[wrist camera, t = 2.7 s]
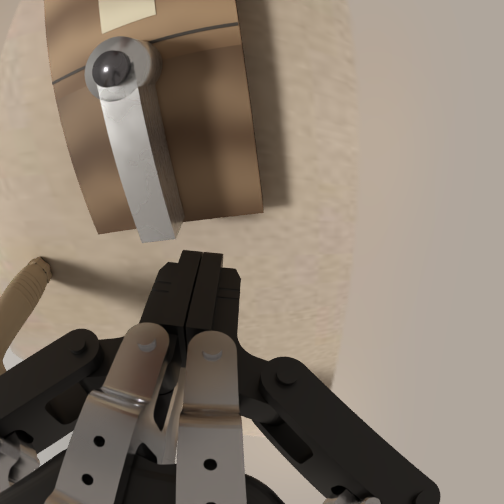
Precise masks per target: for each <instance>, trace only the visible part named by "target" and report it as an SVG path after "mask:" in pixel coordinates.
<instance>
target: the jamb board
mask: <svg viewBox="0 0 504 504" xmlns="http://www.w3.org/2000/svg"><path fill="white" fill-rule="evenodd" d="M44 7H45V26H46V38H47V47H48V56H49V63H50V70H51V76H52V84H53V87H54V92H55V97H56V102H57V107H58V111H59V116H60V120H61V124H62V128H63V132H64V136H65V139H66V143H67V147H68V150H69V153H70V157H71V160H72V163H73V167H74V170H75V173H76V176H77V179H78V182H79V185H80V188H81V191H82V193H83V196H84V199H85V202H86V204H87V207H88V210H89V212H90V215H91V217H92V220H93V222H94V225H95V227H96V230H97V232H98V234H104V233H110V232H117V231H123V230H130V229H137V228H136V225H135V222H134V219H133V216H132V213H131V210H130V207H129V204H128V201H127V198H126V195H125V192H124V189H123V186H122V182H121V179H120V176H119V172H118V169H117V165H116V162H115V158H114V155H113V151H112V147H111V144H110V140H109V136H108V132H107V128H106V124H105V120H104V115H103V111H102V106H101V102H100V99H98V98H96V97H95V96H94V95H93V94H92V93H91V92H90V91H89V89H88V87H87V85H86V81H85V67H86V63H87V60H88V58H89V56H90V55H91V53H92V52H93V50H94V49H95V48H96V47H97V46H98V45H99V44H101V43H102V42H103V41H105V40H107V39H109V38H112V37H117V36H124V37H129V38H134V39H138V40H142V41H146V42H149V43H151V44H153V45H154V46H155V47H156V48H157V49H158V50H159V52H160V54H161V57H162V71H161V75H160V77H159V79H158V81H157V82H156V83H155V87H156V92H157V97H158V103H159V108H160V113H161V118H162V122H163V127H164V132H165V136H166V141H167V145H168V150H169V154H170V159H171V163H172V167H173V171H174V176H175V180H176V184H177V188H178V192H179V196H180V200H181V204H182V208H183V211H184V215H185V218H184V220H183V222H188V221H195V220H203V219H212V218H220V217H229V216H238V215H247V214H256V213H263V200H262V191H261V183H260V175H259V166H258V158H257V150H256V142H255V134H254V127H253V119H252V111H251V104H250V96H249V89H248V82H247V74H246V67H245V60H244V53H243V46H242V39H241V33H240V26H239V19H238V13H237V6H236V0H44Z"/></svg>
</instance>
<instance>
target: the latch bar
mask: <svg viewBox="0 0 504 504" xmlns="http://www.w3.org/2000/svg"><path fill="white" fill-rule="evenodd" d="M161 71H162V57H161V54H160V52H159V50H158V49H157V48H156V47H155V46H154V45H153V44H151V43H149V42H146V41H142V40H138V39H134V38H129V37H124V36H117V37H112V38H109V39H107V40H105V41H103V42H102V43H101V44H99V45H98V46H97V47H96V48H95V49H94V50H93V52H92V53H91V55H90V56H89V58H88V60H87V63H86V67H85V81H86V85H87V87H88V89H89V91H90V92H91V93H92V94H93V95H94V96H95V97H96V98H98V99H100V102H101V106H102V111H103V115H104V120H105V124H106V128H107V132H108V136H109V140H110V144H111V147H112V151H113V155H114V158H115V162H116V165H117V169H118V172H119V176H120V179H121V182H122V186H123V189H124V192H125V195H126V198H127V201H128V204H129V207H130V210H131V213H132V216H133V219H134V222H135V225H136V228H137V230H138V233H139V236H140V239H141V241H142V243H146V242H154V241H163V240H171V239H176V237H177V235H178V232H179V230H180V228H181V225H182V223H183V220H184V218H185V215H184V211H183V208H182V204H181V200H180V196H179V192H178V188H177V184H176V180H175V176H174V171H173V167H172V163H171V159H170V154H169V150H168V145H167V141H166V136H165V132H164V127H163V122H162V118H161V113H160V108H159V103H158V97H157V92H156V87H155V83H156V82H157V81H158V79H159V77H160V75H161Z"/></svg>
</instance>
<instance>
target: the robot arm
mask: <svg viewBox="0 0 504 504" xmlns="http://www.w3.org/2000/svg"><path fill="white" fill-rule="evenodd" d="M222 267H223V254H220V253H209V252H204V253H203V252H198V251H188V250H183V251H182V254H181V257H180V259H179V262H178V263H173V262H168V263H167V264H166V265H164V266H163V267H162V268H161V269H160V270H159V272H158V275H157V277H156V280H155V283H154V285H153V287H152V291H151V293H150V295H149V298H148V301H147V303H146V306H145V309H144V311H143V314H142V317H141V320H140V322H139V324H137V325H135V326H133V327H132V328H131V329H129V330H128V332H127V333H126V335H125V336H123V337H120V338H114V339H104V340H98V338H97V336H96V335H95V334H94V333H93V332H92V331H90V330H87V329H76V330H73V331H71V332H69V333H67V334H66V335H64V336H62V337H61V338H59V339H57V340H56V341H54V342H53V343H51V344H49V345H48V346H46V347H45V348H43V349H41V350H40V351H38V352H36V353H35V354H33V355H32V356H30V357H28V358H27V359H25V360H24V361H22V362H21V363H19V364H17V365H16V366H14V367H13V368H11V369H10V370H8V371H6V372H5V373H3V374H2V375H0V504H285V503H284V502H283V501H282V500H281V499H280V498H279V497H278V496H277V495H276V494H275V493H274V491H272V490H271V489H270V488H269V487H268V486H267V485H265V484H263V483H262V482H260V481H259V480H257V479H255V478H254V477H252V476H249V475H247V474H245V470H244V453H243V434H242V420H241V416H244V417H247V418H249V419H252V421H253V422H254V424H255V425H256V426H257V427H258V428H259V430H260V431H261V432H262V433H263V434H264V435H265V436H266V437H267V439H268V440H269V441H270V442H271V443H272V444H273V445H274V446H275V447H276V448H277V449H278V451H280V453H281V454H282V455H283V456H284V457H285V458H286V459H287V460H288V461H289V462H290V463H291V464H292V465H293V466H294V467H295V468H296V469H297V470H298V471H299V472H300V473H301V474H302V475H303V476H304V477H305V478H306V479H307V480H308V481H309V482H310V483H311V484H312V485H313V486H314V487H315V488H316V489H317V490H318V491H319V492H320V493H321V494H323V496H325V497H326V498H327V499H326V500H325V501H324V502H323V504H439V502H440V491H439V488H438V486H437V485H436V484H435V483H434V482H433V481H432V480H431V479H429V478H428V477H427V476H426V475H425V474H423V473H422V472H421V471H419V469H417V468H416V467H415V466H414V465H413V464H411V463H410V462H409V461H408V460H407V459H406V458H404V457H403V456H402V455H401V454H400V453H399V452H398V451H396V450H395V449H394V448H393V447H392V446H391V445H389V444H388V443H387V442H386V441H385V440H384V439H383V438H382V437H380V436H379V435H378V434H377V433H376V432H375V431H374V430H373V429H372V428H370V427H369V426H368V425H367V424H366V423H365V422H364V421H363V420H362V419H360V418H359V417H358V416H357V415H356V414H355V413H354V412H353V411H352V410H351V409H350V408H349V407H348V406H347V405H346V404H344V403H343V402H342V401H341V400H340V399H339V398H338V397H337V396H336V395H335V394H334V393H333V392H332V391H331V390H330V389H329V388H328V387H327V386H325V385H324V384H323V383H322V382H321V381H320V380H319V379H318V378H317V377H316V376H315V375H314V374H313V373H312V372H311V371H310V370H309V369H308V368H307V367H306V366H305V365H304V364H303V363H301V362H300V361H298V360H296V359H294V358H290V357H277V358H274V359H272V360H270V361H266V360H263V359H260V358H258V357H255V356H253V355H251V354H249V353H248V352H246V351H245V350H244V349H243V348H242V347H241V345H240V343H239V341H238V337H237V329H238V313H239V298H240V283H241V278H240V276H239V274H238V272H237V270H236V269H232V268H222ZM182 405H183V408H182ZM73 430H74V431H73ZM72 431H73V434H72V437H71V439H70V442H69V445H68V448H67V449H66V450H63V451H62V452H60V453H59V454H57V455H56V456H54V457H53V458H52V459H50V460H49V461H48V462H46V463H44V464H43V465H42V466H40V467H39V465H40V462H39V459H38V458H37V454H38V453H39V452H41V451H42V450H44V449H46V448H47V447H49V446H50V445H52V444H53V443H55V442H56V441H58V440H59V439H61V438H63V437H64V436H66V435H67V434H68V433H70V432H72ZM177 441H178V444H177ZM176 448H177V464H175V456H176ZM34 469H36V470H34Z"/></svg>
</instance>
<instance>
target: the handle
mask: <svg viewBox="0 0 504 504" xmlns="http://www.w3.org/2000/svg"><path fill="white" fill-rule="evenodd" d="M51 277H52V274H51V271H50V265H49V264H48V263H46V262H45V261H43V260H42V258H40V257H37V258H36V259H33V260H31V261H30V262H29V263H28V265H27V266H26V267H24V268H23V269H22V270H21V271H20V272H19V273H18V274H17V275H16V276H15V278H14V279H13V280H12V281H11V282H10V284H9V285H8V286H7V288H6V289H5V291H4V293H3V294H2V296H1V297H0V375H2V374H3V373H5V372H6V369H5V367H4V365H3V358H4V355H5V353H6V351H7V349H8V348H9V346H10V344H11V343H12V341H13V339H14V338H15V336H16V335H17V333H18V332H19V330H20V329H21V327H22V326H23V324H24V323H25V321H26V320H27V319H28V317H29V316H30V314H31V313H32V311H33V310H34V308H35V306H36V305H37V303H38V301H39V299H40V298H41V296H42V294H43V292H44V290H45V287H46V285H47V283H49V281H50V279H51Z"/></svg>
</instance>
